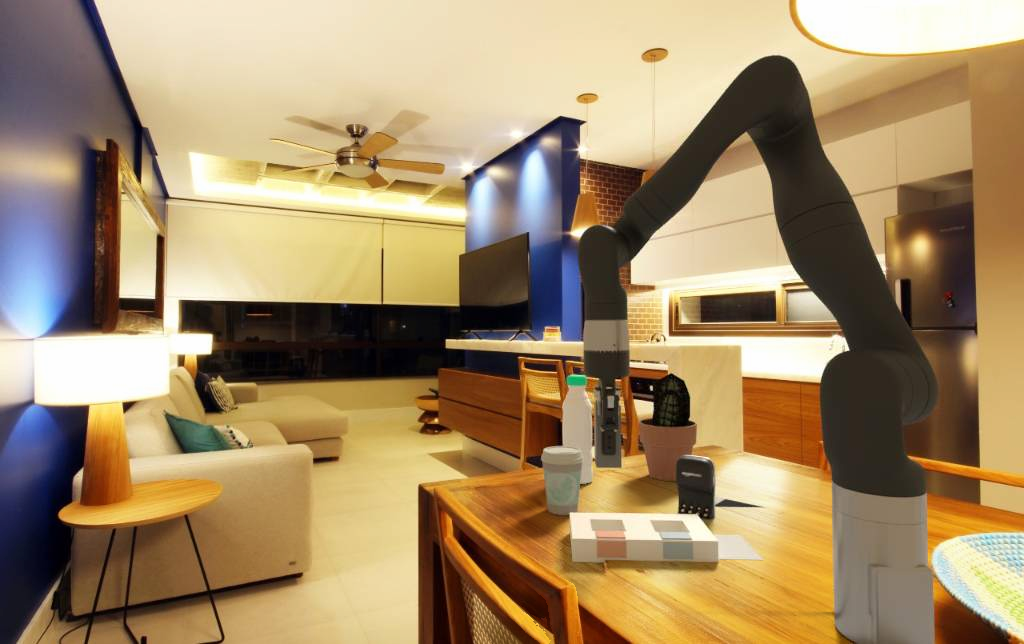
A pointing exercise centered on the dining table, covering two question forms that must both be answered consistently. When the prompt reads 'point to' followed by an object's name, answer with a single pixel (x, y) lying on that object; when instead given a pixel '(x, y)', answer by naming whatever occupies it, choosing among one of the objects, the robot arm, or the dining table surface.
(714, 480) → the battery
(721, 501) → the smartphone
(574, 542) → the dock
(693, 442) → the potted plant
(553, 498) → the coffee cup
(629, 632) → the dining table surface
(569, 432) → the water bottle
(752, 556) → the mat
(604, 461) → the plug
